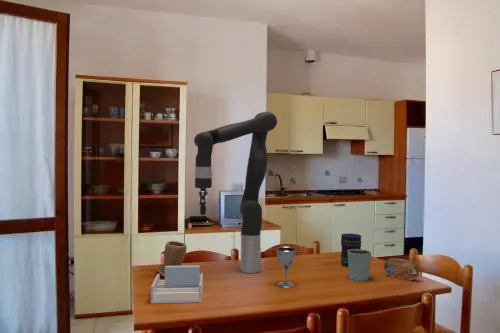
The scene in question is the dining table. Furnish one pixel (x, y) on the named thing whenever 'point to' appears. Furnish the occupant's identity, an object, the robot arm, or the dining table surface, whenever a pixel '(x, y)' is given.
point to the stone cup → (172, 255)
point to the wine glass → (286, 262)
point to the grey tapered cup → (359, 264)
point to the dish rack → (175, 292)
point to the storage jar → (349, 246)
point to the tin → (401, 269)
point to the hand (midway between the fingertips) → (203, 213)
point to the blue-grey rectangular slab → (182, 276)
